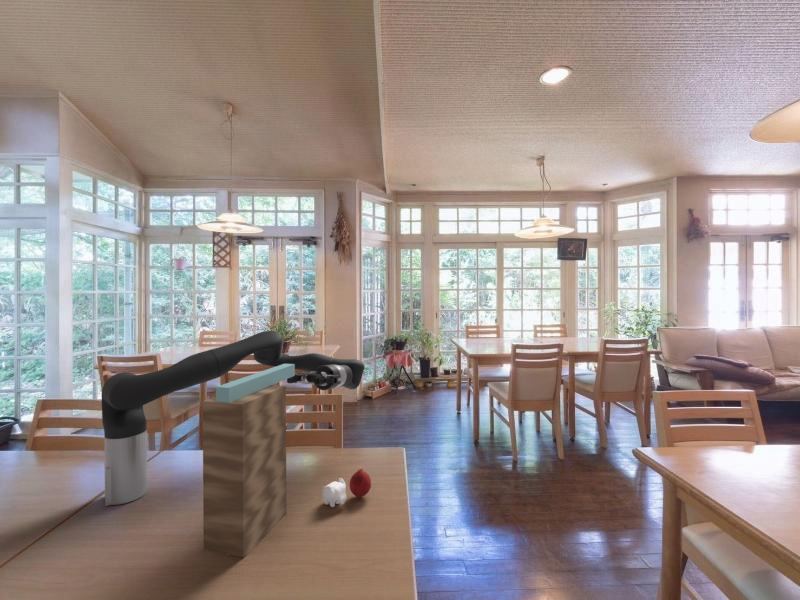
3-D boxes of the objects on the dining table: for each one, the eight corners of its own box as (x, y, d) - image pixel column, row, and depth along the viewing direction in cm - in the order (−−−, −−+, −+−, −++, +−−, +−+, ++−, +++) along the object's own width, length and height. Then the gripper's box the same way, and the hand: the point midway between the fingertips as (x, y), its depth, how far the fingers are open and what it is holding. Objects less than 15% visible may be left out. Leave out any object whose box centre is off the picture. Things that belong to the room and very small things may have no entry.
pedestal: (243, 558, 76) (242, 404, 75) (203, 549, 78) (202, 400, 78) (286, 513, 91) (285, 386, 91) (251, 507, 94) (251, 383, 93)
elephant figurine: (336, 515, 90) (336, 491, 90) (313, 505, 95) (313, 482, 95) (353, 502, 96) (353, 480, 96) (331, 493, 101) (331, 472, 100)
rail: (229, 403, 76) (228, 387, 76) (216, 401, 77) (216, 386, 77) (294, 375, 102) (294, 364, 102) (284, 375, 102) (284, 363, 102)
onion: (367, 505, 95) (367, 474, 95) (346, 502, 96) (346, 472, 96) (373, 493, 101) (373, 464, 101) (353, 490, 102) (353, 462, 102)
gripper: (311, 363, 118) (280, 365, 103) (351, 365, 114) (325, 367, 98) (309, 387, 117) (278, 392, 102) (350, 390, 113) (324, 396, 97)
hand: (301, 380), depth 100 cm, fingers open, 8 cm apart
